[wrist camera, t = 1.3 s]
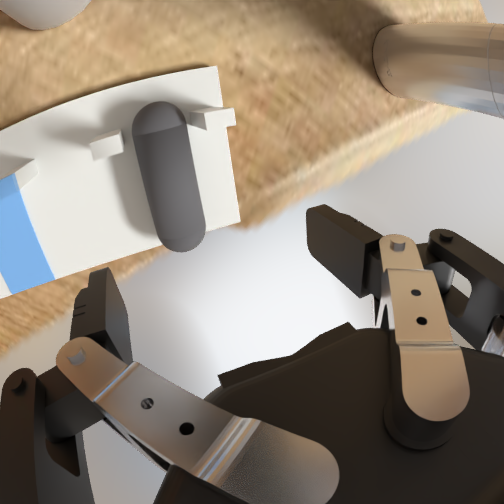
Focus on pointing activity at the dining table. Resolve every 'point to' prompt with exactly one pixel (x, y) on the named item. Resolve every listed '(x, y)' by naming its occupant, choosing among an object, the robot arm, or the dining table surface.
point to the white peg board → (102, 177)
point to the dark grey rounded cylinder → (169, 175)
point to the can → (42, 12)
